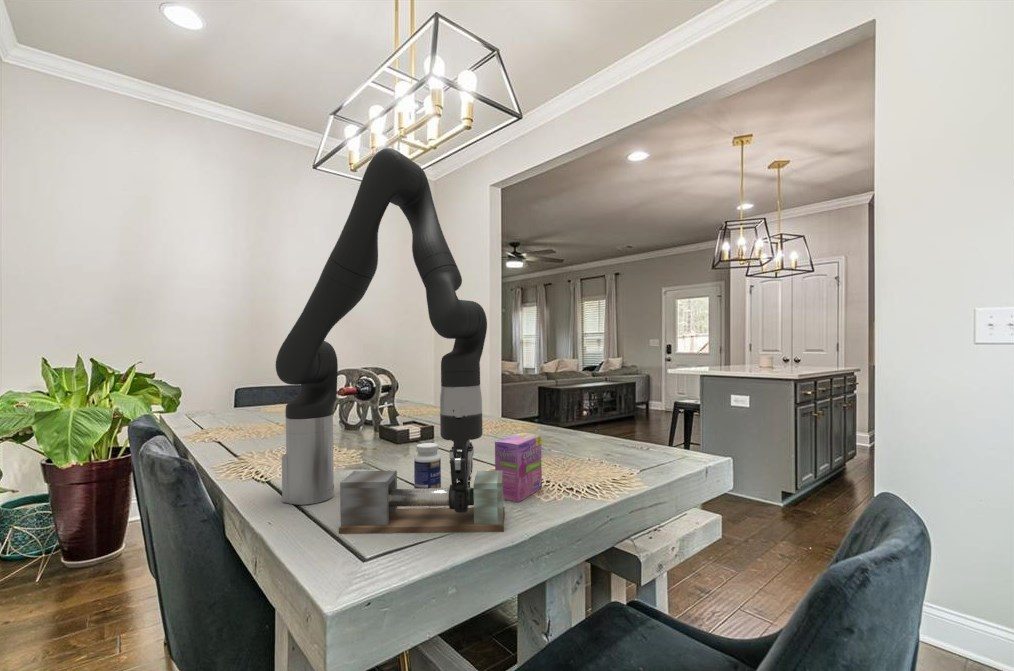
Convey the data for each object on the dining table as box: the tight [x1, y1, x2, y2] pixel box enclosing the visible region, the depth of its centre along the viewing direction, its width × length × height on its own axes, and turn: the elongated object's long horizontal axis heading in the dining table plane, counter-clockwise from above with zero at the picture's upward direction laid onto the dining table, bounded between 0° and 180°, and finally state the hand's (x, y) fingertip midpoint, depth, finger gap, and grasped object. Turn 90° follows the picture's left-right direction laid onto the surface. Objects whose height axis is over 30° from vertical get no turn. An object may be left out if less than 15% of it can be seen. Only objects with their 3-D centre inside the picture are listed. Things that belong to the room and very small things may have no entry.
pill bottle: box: [413, 442, 442, 489], centre depth 103 cm, size 6×6×10 cm
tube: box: [388, 484, 474, 509], centre depth 84 cm, size 18×4×4 cm, turn 89°
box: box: [494, 432, 543, 503], centre depth 100 cm, size 10×6×12 cm, turn 148°
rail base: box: [338, 469, 506, 535], centre depth 84 cm, size 28×9×8 cm, turn 89°
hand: (462, 506), depth 84 cm, fingers closed on tube, 4 cm apart
